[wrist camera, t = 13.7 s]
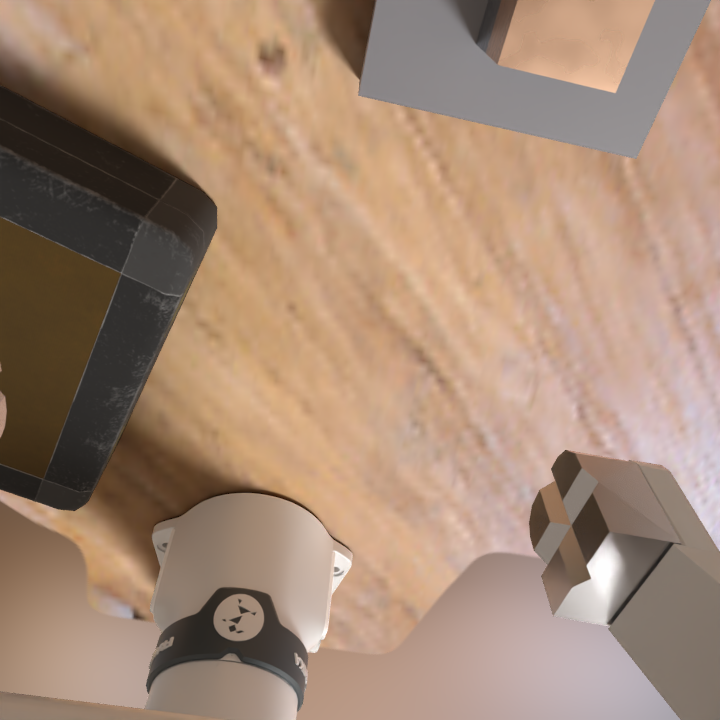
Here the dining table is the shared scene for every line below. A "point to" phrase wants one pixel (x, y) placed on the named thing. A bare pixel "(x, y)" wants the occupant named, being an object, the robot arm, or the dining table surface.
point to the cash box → (82, 294)
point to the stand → (520, 74)
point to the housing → (565, 37)
